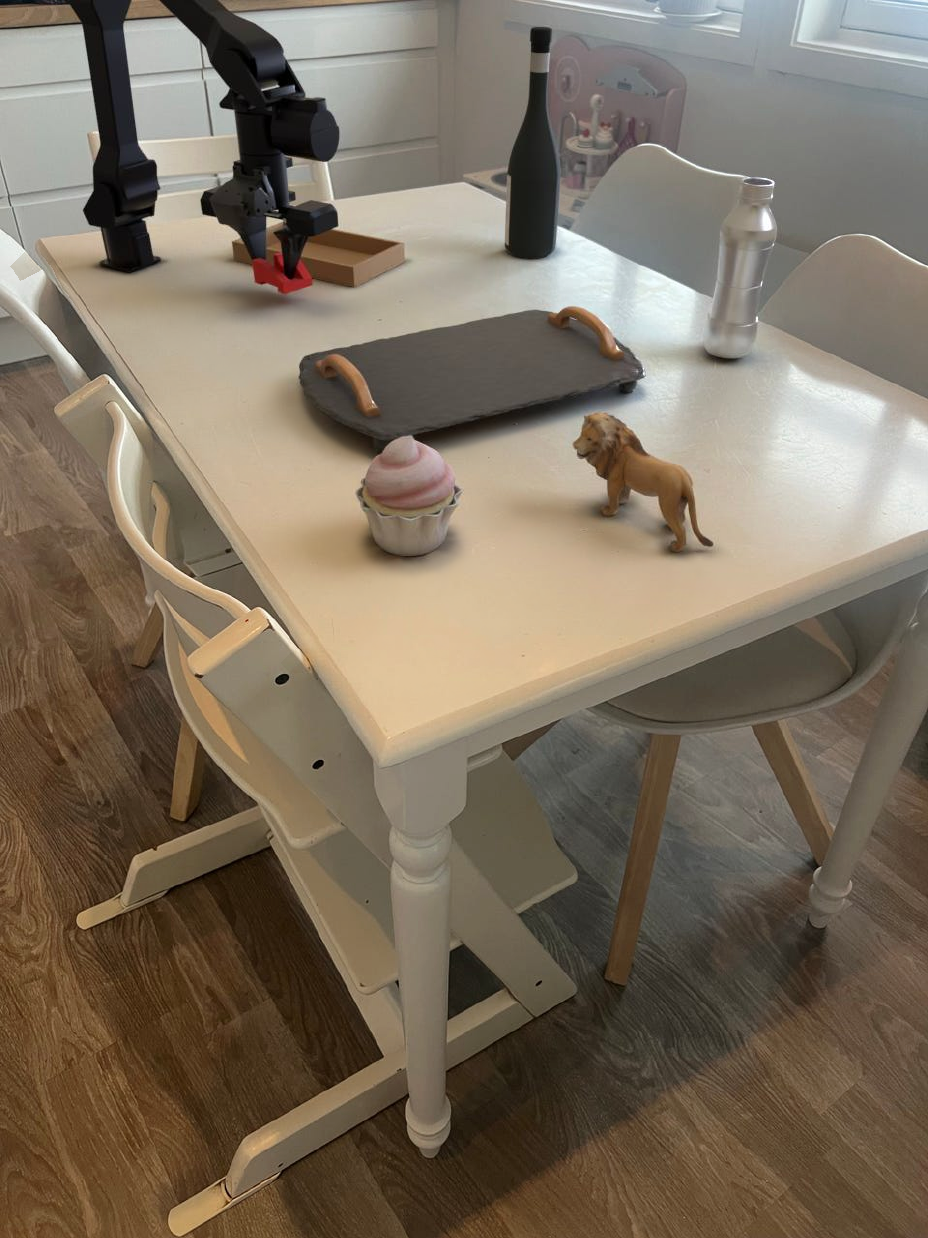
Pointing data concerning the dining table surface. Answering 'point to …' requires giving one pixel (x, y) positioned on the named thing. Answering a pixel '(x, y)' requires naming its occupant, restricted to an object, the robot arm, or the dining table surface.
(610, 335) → the serving tray
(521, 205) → the wine bottle
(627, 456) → the lion figurine
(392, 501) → the cupcake
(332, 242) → the cardboard box
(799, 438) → the dining table surface
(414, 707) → the dining table surface
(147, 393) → the dining table surface
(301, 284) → the bracket
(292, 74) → the robot arm
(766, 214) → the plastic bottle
